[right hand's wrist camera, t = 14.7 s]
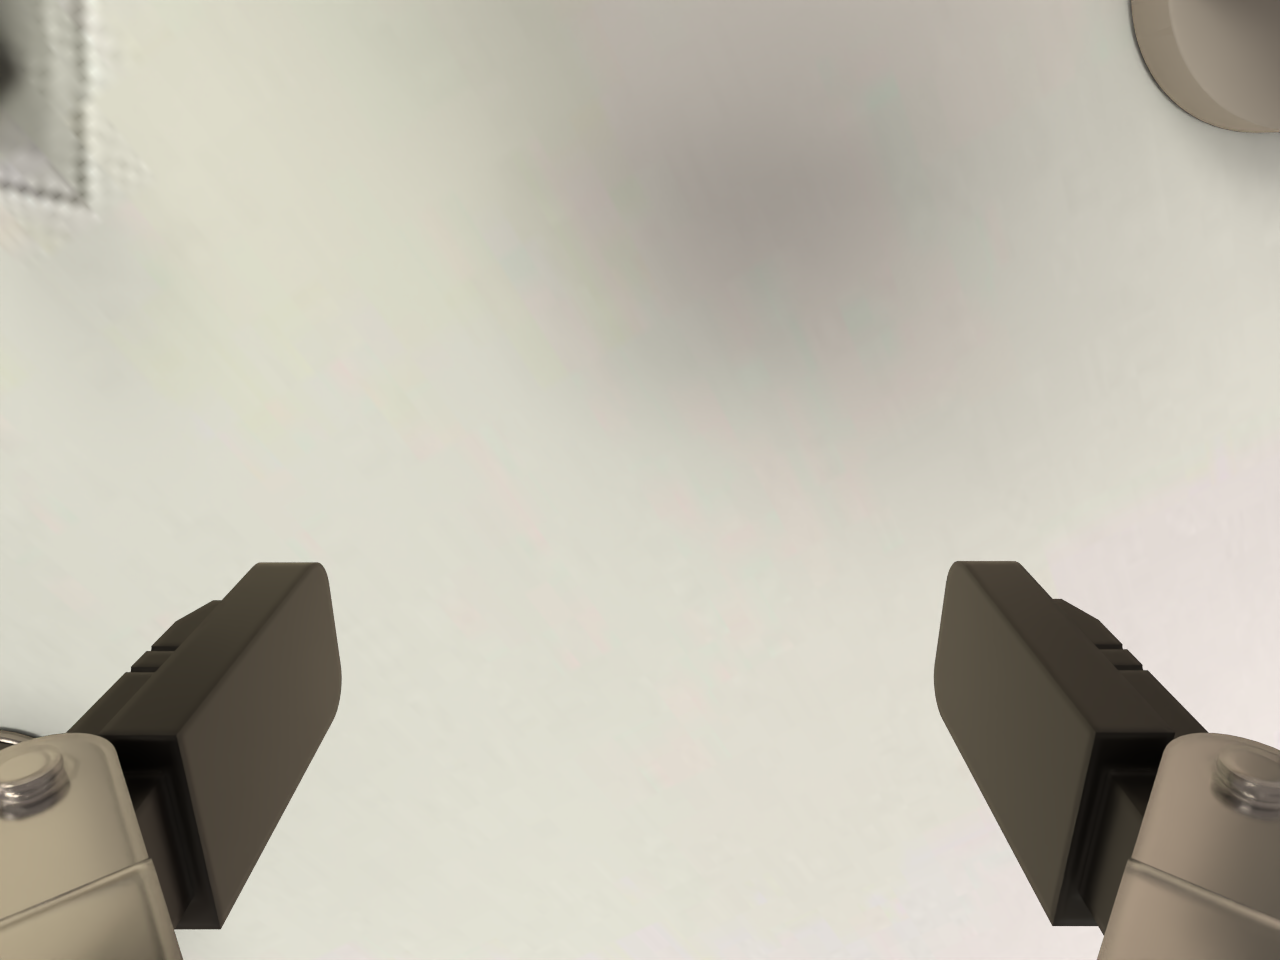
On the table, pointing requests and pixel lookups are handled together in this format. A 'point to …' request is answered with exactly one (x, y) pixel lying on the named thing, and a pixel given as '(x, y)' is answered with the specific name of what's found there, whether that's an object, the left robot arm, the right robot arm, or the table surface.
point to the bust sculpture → (1215, 58)
